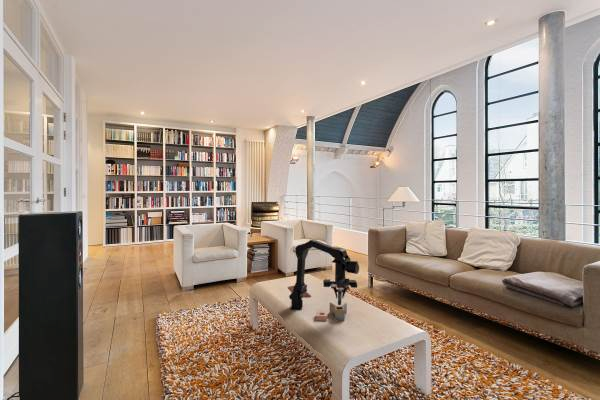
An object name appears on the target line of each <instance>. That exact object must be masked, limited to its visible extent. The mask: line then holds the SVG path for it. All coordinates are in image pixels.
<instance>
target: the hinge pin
mask: <svg viewBox="0 0 600 400" xmlns="http://www.w3.org/2000/svg"><path fill="white" fill-rule="evenodd" d="M342 292H343V288H337V306H342Z"/></svg>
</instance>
